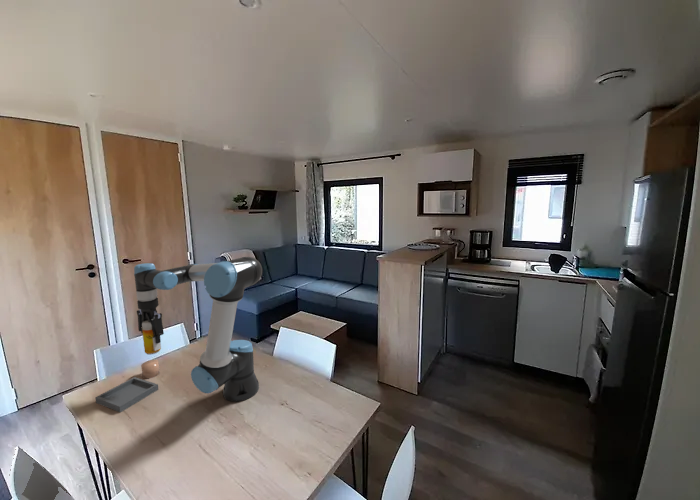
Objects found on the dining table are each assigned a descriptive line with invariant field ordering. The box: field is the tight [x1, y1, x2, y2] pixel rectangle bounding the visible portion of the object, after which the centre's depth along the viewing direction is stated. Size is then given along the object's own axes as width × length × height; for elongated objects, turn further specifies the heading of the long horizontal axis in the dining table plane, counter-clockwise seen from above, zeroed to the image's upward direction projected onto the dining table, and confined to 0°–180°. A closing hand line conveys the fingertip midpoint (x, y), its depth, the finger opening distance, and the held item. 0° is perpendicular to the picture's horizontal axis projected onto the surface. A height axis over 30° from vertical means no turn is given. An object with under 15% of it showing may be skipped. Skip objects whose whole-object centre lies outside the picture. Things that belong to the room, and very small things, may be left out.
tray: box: [95, 376, 160, 413], centre depth 129 cm, size 16×16×3 cm
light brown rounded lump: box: [140, 359, 160, 380], centre depth 145 cm, size 7×7×6 cm
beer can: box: [141, 319, 161, 356], centre depth 131 cm, size 6×6×15 cm
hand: (152, 347), depth 132 cm, fingers closed on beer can, 6 cm apart
